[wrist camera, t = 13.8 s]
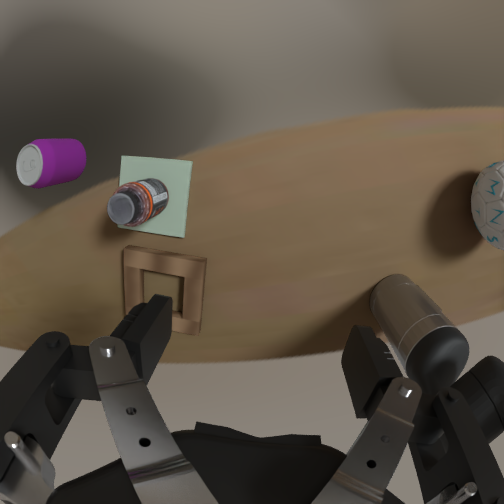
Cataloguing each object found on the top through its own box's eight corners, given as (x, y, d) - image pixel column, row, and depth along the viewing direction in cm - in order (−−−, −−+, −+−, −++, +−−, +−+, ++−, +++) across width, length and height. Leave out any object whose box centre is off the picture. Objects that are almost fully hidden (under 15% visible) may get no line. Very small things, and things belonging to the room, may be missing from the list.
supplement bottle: (149, 221, 45) (116, 242, 34) (129, 192, 43) (92, 204, 33) (177, 201, 43) (149, 215, 33) (156, 169, 42) (123, 175, 31)
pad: (192, 161, 42) (191, 161, 41) (184, 236, 46) (183, 237, 45) (123, 155, 42) (121, 155, 41) (119, 226, 46) (117, 227, 45)
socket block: (207, 258, 47) (204, 262, 45) (200, 329, 51) (198, 336, 49) (128, 244, 47) (123, 248, 45) (130, 314, 51) (126, 319, 49)
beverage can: (88, 135, 41) (44, 135, 30) (89, 178, 43) (45, 188, 32) (57, 141, 41) (13, 144, 30) (58, 182, 44) (14, 192, 32)
